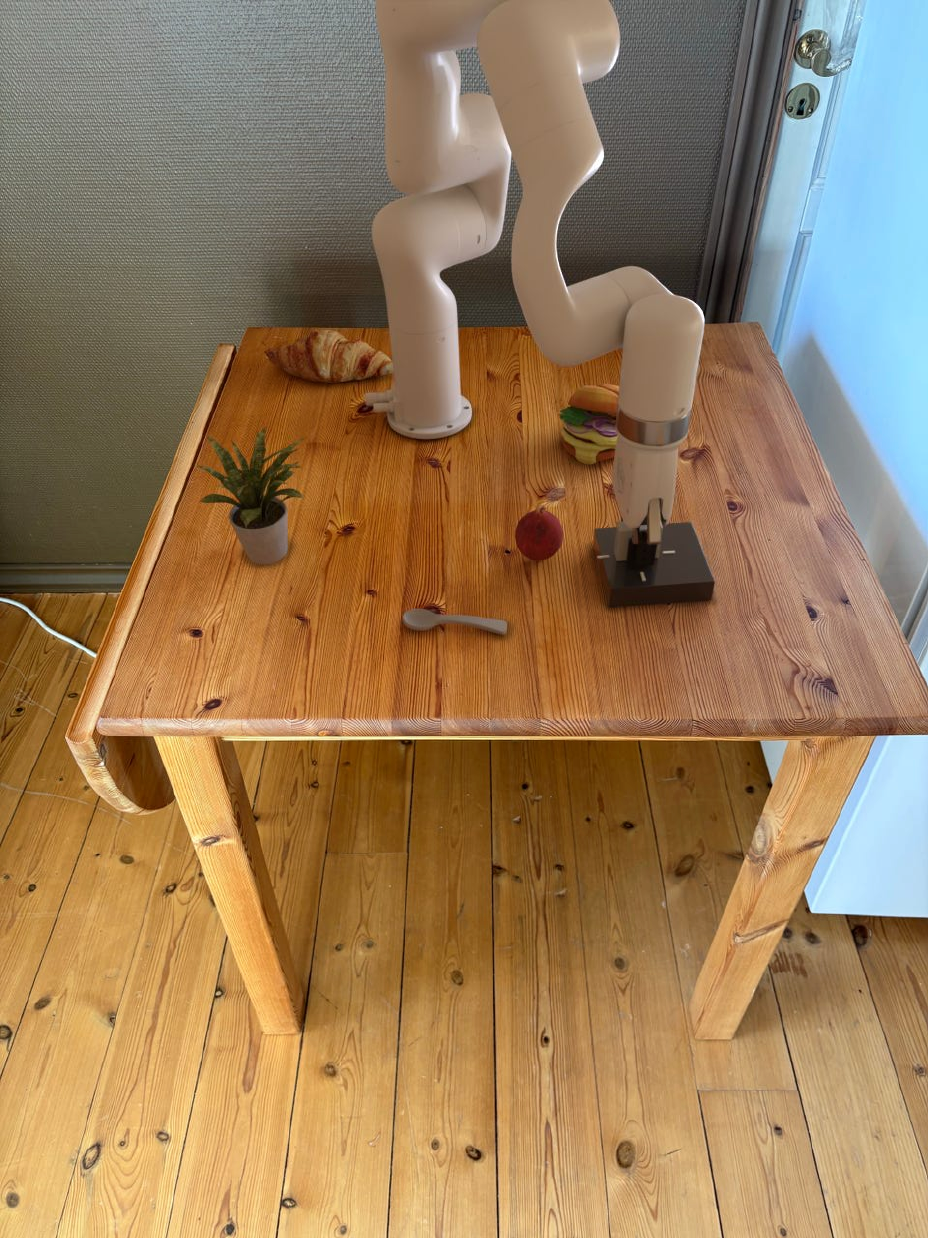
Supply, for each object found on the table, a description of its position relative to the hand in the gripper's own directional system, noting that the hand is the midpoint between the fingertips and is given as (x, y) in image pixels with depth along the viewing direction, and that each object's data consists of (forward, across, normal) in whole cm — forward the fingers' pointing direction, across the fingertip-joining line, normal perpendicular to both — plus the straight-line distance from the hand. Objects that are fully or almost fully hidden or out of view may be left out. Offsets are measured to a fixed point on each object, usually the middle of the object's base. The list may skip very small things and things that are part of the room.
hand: (636, 552), depth 109 cm
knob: (0, 0, 0) cm, 0 cm away
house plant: (+4, -8, -44) cm, 45 cm away
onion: (+4, -4, -11) cm, 12 cm away
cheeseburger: (+4, -28, 0) cm, 28 cm away
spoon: (+4, +7, -22) cm, 23 cm away
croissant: (+4, -53, -38) cm, 65 cm away
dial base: (+3, 0, +2) cm, 4 cm away
